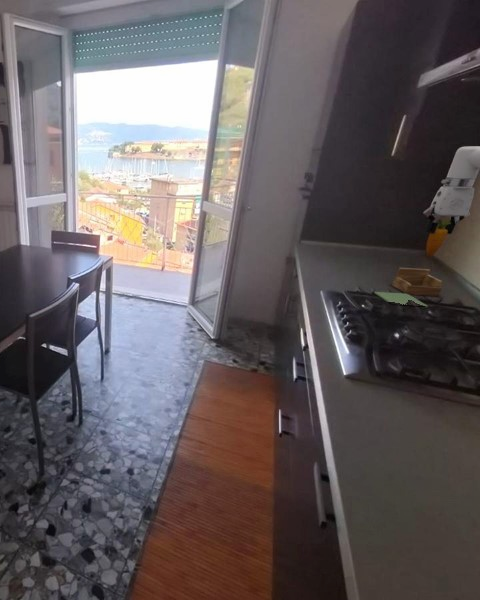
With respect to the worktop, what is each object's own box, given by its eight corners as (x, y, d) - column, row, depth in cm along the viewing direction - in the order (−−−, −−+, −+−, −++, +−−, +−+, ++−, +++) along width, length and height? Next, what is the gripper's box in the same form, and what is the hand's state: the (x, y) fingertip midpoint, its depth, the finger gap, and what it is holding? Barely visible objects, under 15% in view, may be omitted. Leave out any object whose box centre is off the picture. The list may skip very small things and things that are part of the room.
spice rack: (438, 296, 141) (446, 277, 138) (406, 294, 143) (414, 275, 140) (421, 287, 150) (428, 269, 147) (391, 285, 152) (398, 267, 149)
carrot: (434, 256, 141) (450, 218, 135) (439, 259, 137) (455, 220, 131) (418, 254, 143) (433, 217, 137) (423, 258, 139) (438, 219, 133)
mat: (427, 307, 132) (428, 306, 131) (391, 305, 134) (391, 303, 133) (407, 295, 142) (407, 293, 142) (373, 292, 144) (374, 291, 144)
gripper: (438, 183, 127) (419, 234, 134) (495, 184, 124) (472, 236, 131) (424, 182, 134) (407, 230, 141) (477, 182, 131) (457, 231, 138)
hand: (438, 232), depth 136 cm, fingers closed on carrot, 4 cm apart
